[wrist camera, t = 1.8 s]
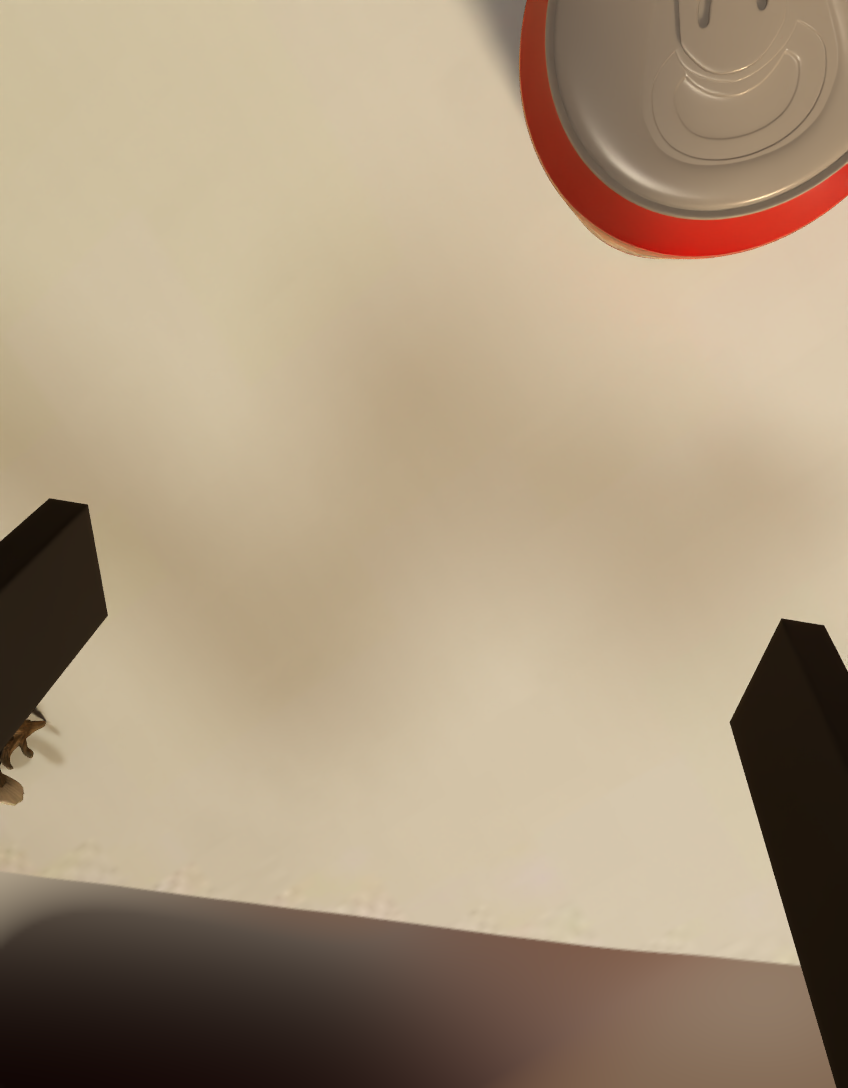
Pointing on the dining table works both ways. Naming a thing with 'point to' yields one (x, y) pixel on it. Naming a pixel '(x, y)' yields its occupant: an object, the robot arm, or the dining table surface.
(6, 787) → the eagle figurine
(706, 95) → the soda can
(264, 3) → the dining table surface
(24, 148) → the dining table surface
